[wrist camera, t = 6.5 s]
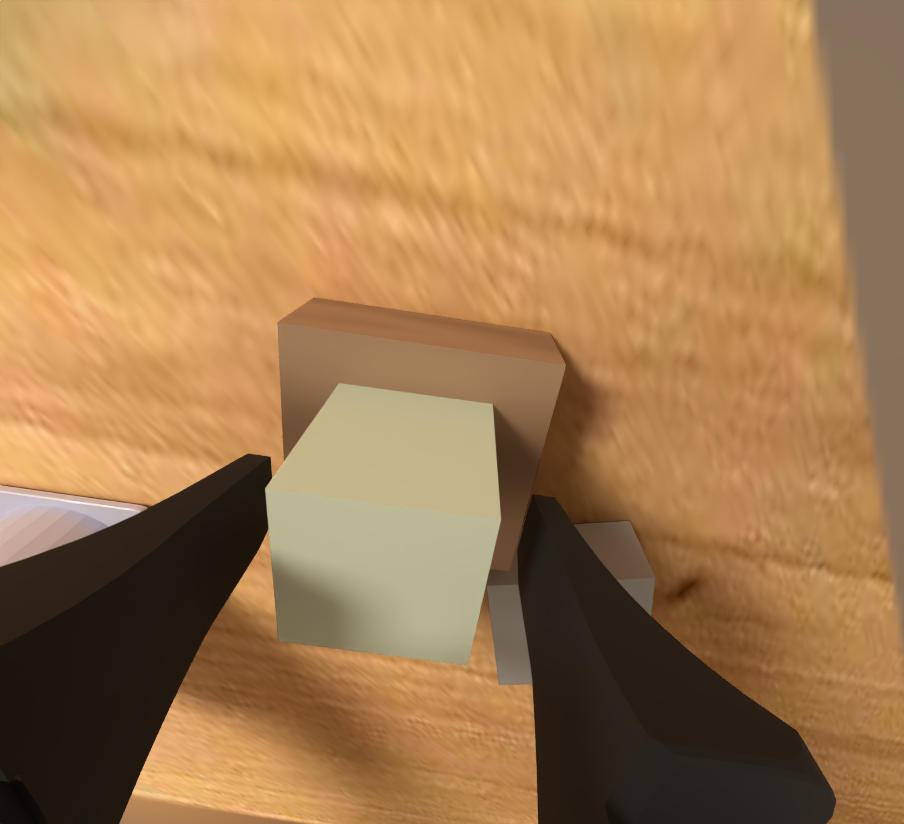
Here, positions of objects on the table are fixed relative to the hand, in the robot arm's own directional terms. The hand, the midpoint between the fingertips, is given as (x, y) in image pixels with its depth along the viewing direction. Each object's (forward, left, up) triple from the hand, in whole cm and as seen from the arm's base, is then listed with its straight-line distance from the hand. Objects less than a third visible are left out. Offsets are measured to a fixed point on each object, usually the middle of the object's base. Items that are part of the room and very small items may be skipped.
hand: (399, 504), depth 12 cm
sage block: (0, 0, -2) cm, 2 cm away
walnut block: (0, 0, -5) cm, 5 cm away
